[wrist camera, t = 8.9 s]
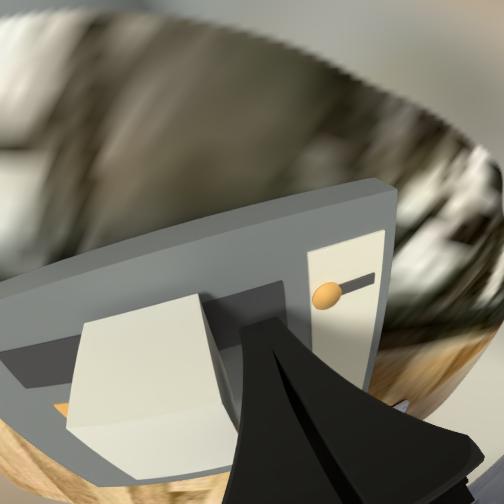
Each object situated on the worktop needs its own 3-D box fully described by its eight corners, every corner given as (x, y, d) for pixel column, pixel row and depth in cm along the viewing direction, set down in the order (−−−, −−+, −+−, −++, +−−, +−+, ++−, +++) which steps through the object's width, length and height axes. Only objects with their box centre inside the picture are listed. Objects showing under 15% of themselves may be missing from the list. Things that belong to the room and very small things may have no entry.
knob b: (225, 370, 11) (252, 459, 8) (132, 392, 11) (137, 480, 7) (197, 293, 9) (221, 402, 6) (84, 323, 9) (66, 428, 5)
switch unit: (349, 413, 21) (358, 430, 20) (98, 472, 18) (98, 489, 16) (373, 177, 11) (402, 192, 10) (-68, 308, 8) (-82, 331, 7)
